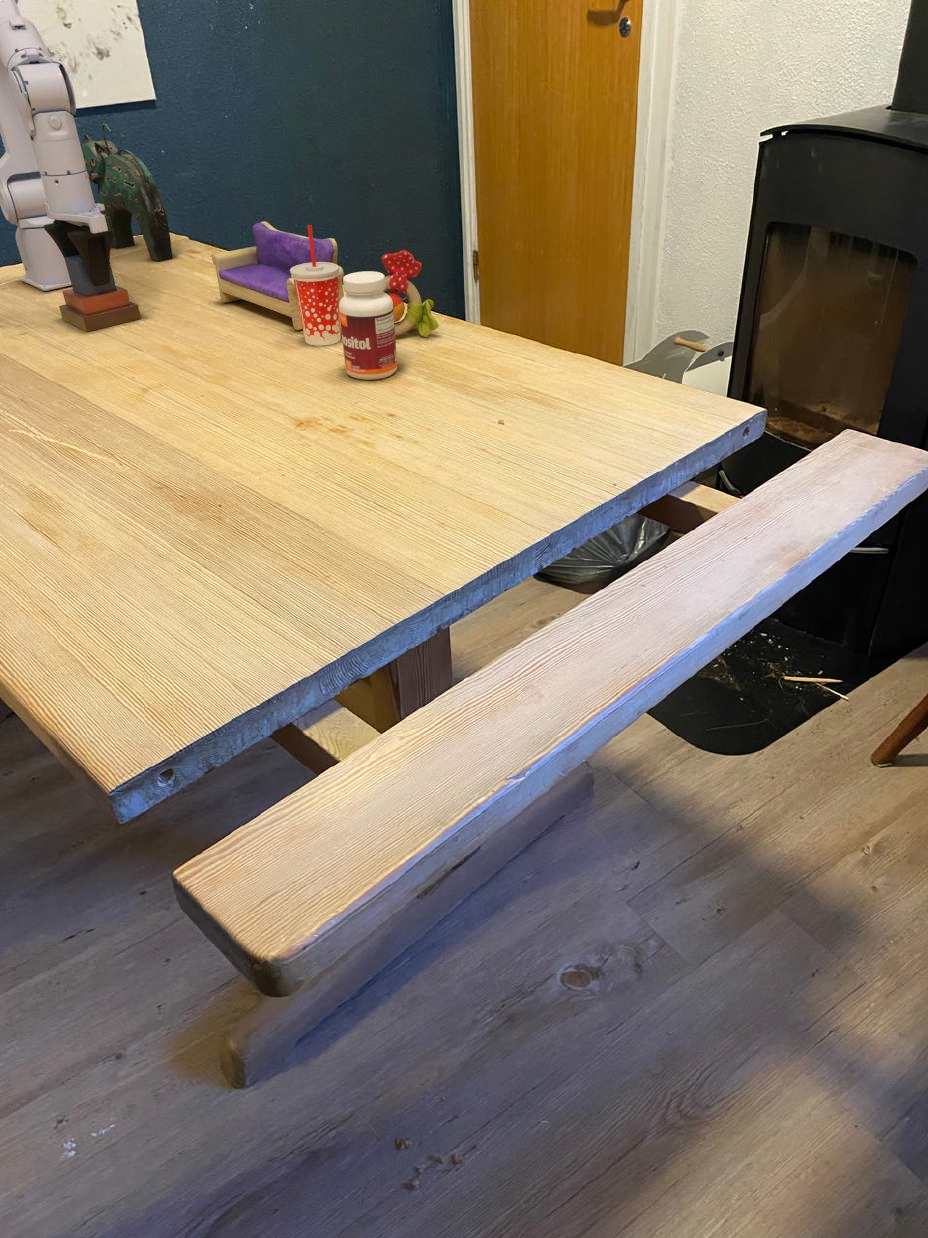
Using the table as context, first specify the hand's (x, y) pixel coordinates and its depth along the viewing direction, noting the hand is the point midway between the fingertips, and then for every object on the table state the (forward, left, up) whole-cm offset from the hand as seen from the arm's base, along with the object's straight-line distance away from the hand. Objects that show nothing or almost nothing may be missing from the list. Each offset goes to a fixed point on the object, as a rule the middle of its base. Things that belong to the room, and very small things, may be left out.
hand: (91, 280), depth 125 cm
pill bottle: (+45, +13, -6) cm, 47 cm away
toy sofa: (+16, +20, -6) cm, 26 cm away
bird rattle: (+38, +24, -6) cm, 45 cm away
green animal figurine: (-32, +23, -6) cm, 40 cm away
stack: (0, 0, -5) cm, 5 cm away
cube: (0, 0, -1) cm, 1 cm away
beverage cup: (+31, +16, -6) cm, 35 cm away
